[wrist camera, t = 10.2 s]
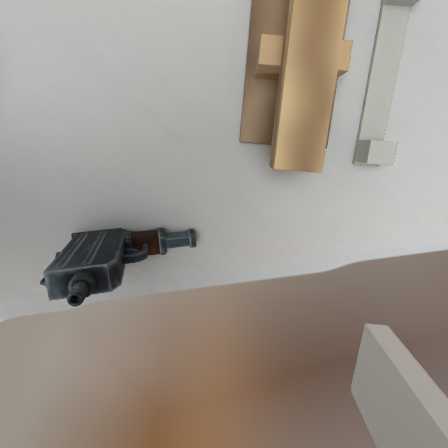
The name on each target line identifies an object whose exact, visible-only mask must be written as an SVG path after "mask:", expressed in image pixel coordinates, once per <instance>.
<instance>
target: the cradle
mask: <svg viewBox="0 0 448 448" xmlns="http://www.w3.org/2000/svg"><path fill="white" fill-rule="evenodd" d="M417 1H419V0H382V4H381V9H380V15H379V20H378V26H377V31H376V37H375V42H374V48H373V54H372V59H371V65H370V70H369V76H368V81H367V87H366V92H365V98H364V103H363V109H362V114H361V120H360V126H359V131H358V137H357V142H356V148H355V153H354V159H353V164H360V165H373V166H379V164H381V165H393V164H394V159H395V155H396V150H397V145H398V142H390V141H384V136H385V131H386V126H387V121H388V116H389V111H390V106H391V102H392V97H393V92H394V87H395V82H396V77H397V72H398V67H399V62H400V57H401V52H402V47H403V42H404V37H405V32H406V27H407V22H408V17H409V12H410V7H411V6H412V5H414V4H415V3H416V2H417Z"/></svg>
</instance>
